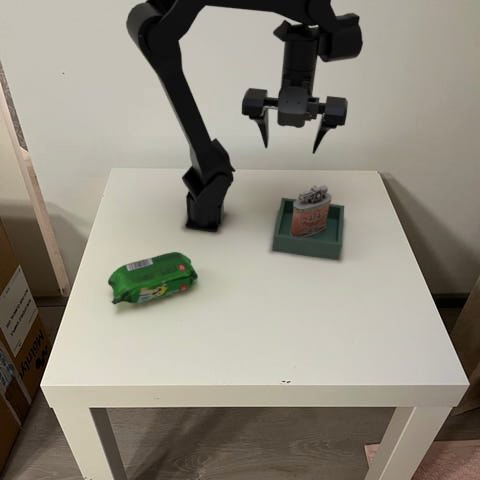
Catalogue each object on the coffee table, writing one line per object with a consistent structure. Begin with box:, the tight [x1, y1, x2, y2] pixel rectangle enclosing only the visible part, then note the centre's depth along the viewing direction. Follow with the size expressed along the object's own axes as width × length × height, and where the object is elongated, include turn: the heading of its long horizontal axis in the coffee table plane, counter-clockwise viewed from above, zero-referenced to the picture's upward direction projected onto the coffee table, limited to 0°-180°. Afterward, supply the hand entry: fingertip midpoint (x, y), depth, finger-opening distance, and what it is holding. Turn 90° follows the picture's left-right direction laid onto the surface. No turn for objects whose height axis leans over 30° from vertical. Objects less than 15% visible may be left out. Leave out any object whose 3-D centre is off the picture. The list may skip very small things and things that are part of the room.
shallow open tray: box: [271, 197, 345, 261], centre depth 95 cm, size 13×13×4 cm
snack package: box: [107, 251, 199, 305], centre depth 83 cm, size 7×16×5 cm, turn 115°
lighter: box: [289, 184, 333, 238], centre depth 92 cm, size 8×3×10 cm, turn 120°
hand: (289, 150), depth 94 cm, fingers open, 9 cm apart
